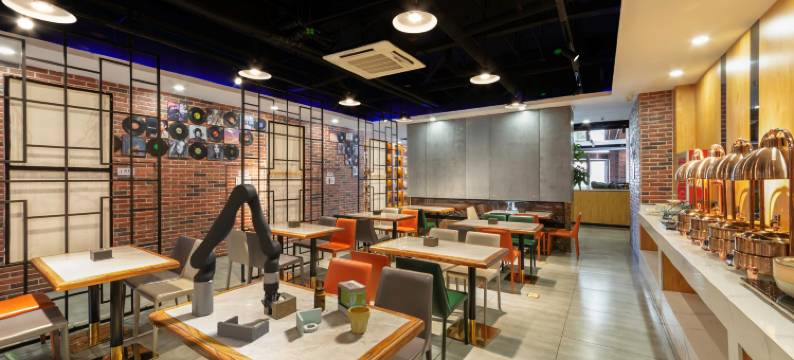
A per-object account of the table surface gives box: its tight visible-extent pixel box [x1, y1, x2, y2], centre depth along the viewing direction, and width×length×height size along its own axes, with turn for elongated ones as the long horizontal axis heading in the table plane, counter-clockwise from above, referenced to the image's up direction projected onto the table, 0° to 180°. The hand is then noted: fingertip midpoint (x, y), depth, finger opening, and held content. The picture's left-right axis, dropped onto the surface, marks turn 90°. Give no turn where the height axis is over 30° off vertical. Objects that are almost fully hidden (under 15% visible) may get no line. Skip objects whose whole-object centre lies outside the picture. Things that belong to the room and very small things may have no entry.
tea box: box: [337, 280, 367, 317], centre depth 184 cm, size 15×10×15 cm
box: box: [216, 315, 270, 343], centre depth 157 cm, size 19×11×6 cm, turn 73°
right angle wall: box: [295, 308, 323, 337], centre depth 163 cm, size 12×12×8 cm
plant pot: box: [347, 306, 371, 335], centre depth 161 cm, size 10×10×10 cm
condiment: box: [307, 286, 328, 313], centre depth 186 cm, size 7×8×12 cm
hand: (271, 314), depth 175 cm, fingers closed
